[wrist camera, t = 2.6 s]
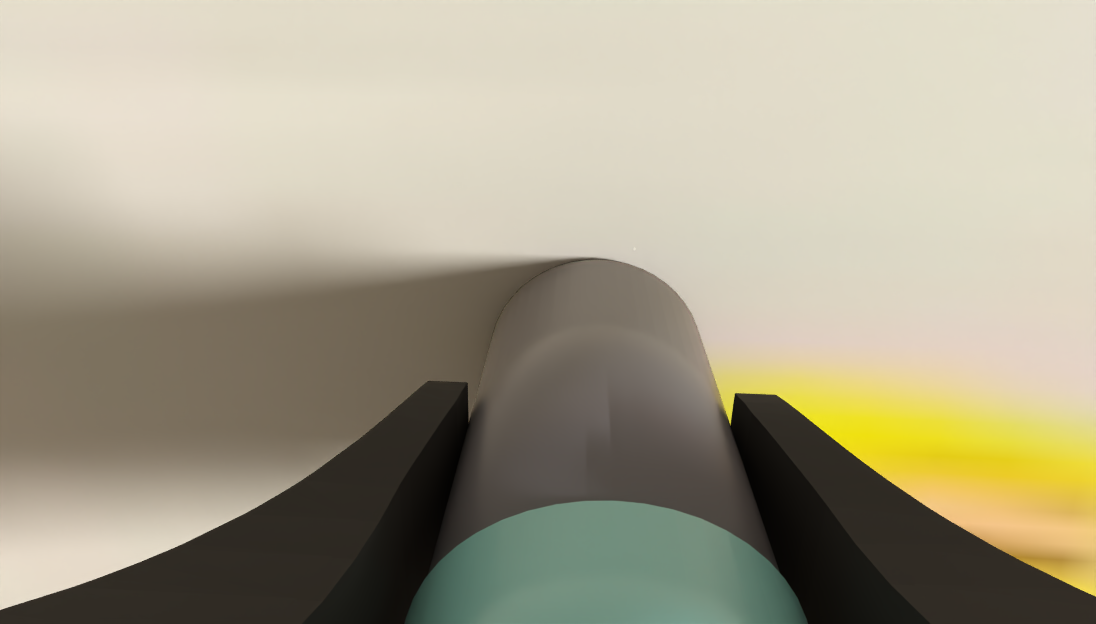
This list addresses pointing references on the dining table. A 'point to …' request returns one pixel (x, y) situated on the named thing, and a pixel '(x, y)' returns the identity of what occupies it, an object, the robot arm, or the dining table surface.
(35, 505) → the dining table surface
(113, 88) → the dining table surface
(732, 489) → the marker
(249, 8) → the dining table surface
